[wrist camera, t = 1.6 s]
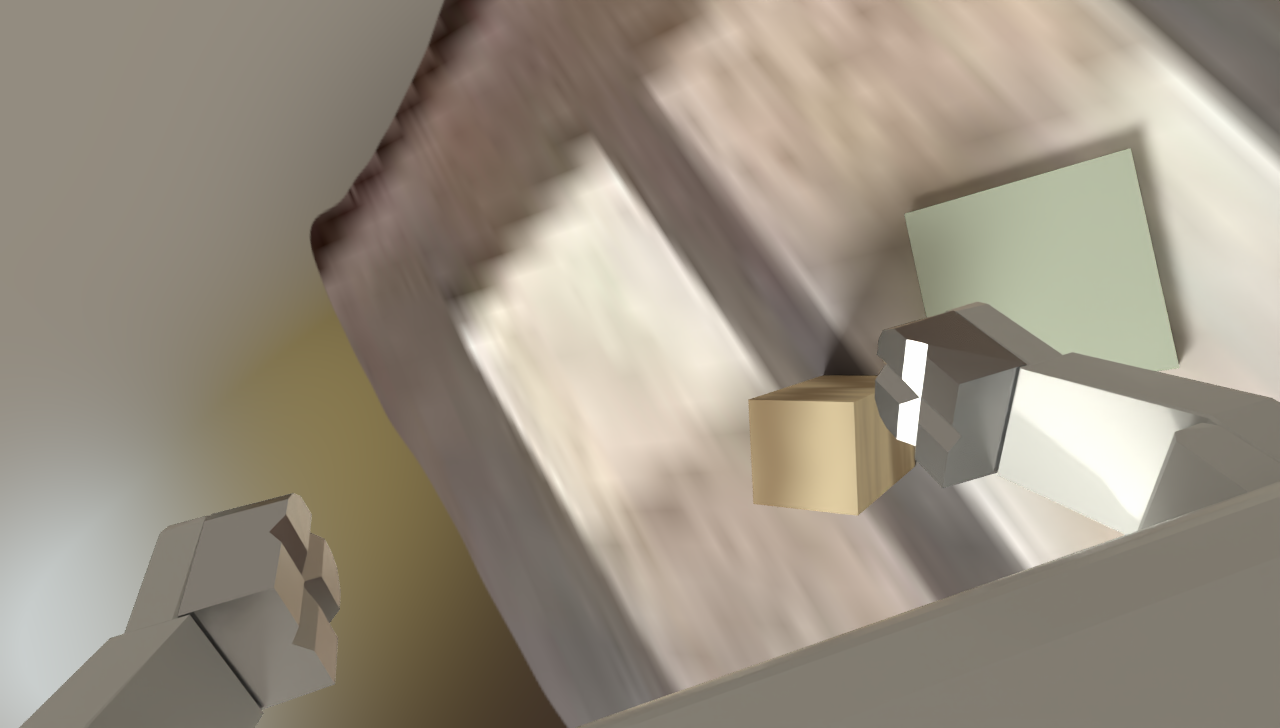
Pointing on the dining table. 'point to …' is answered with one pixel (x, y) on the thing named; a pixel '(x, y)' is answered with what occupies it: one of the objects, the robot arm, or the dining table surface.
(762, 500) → the beech block
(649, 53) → the dining table surface
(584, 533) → the dining table surface
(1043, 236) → the tile
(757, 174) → the dining table surface
